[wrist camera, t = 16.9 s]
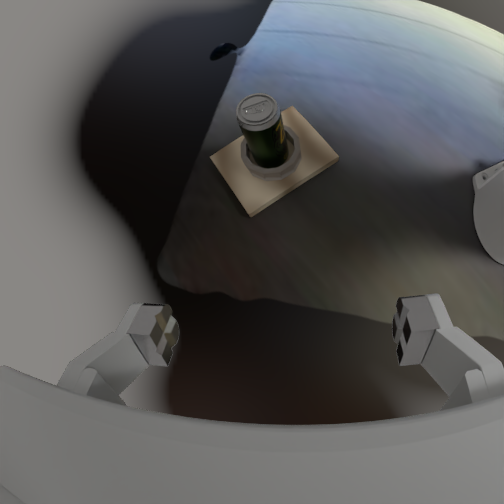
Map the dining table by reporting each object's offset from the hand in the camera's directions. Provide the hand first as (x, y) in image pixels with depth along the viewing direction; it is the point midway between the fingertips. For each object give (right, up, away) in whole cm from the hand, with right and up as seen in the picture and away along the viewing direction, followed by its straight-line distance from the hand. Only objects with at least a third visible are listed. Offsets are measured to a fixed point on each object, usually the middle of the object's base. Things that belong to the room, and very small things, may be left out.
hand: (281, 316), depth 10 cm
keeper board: (+2, +16, +35) cm, 39 cm away
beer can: (+2, +17, +34) cm, 38 cm away
